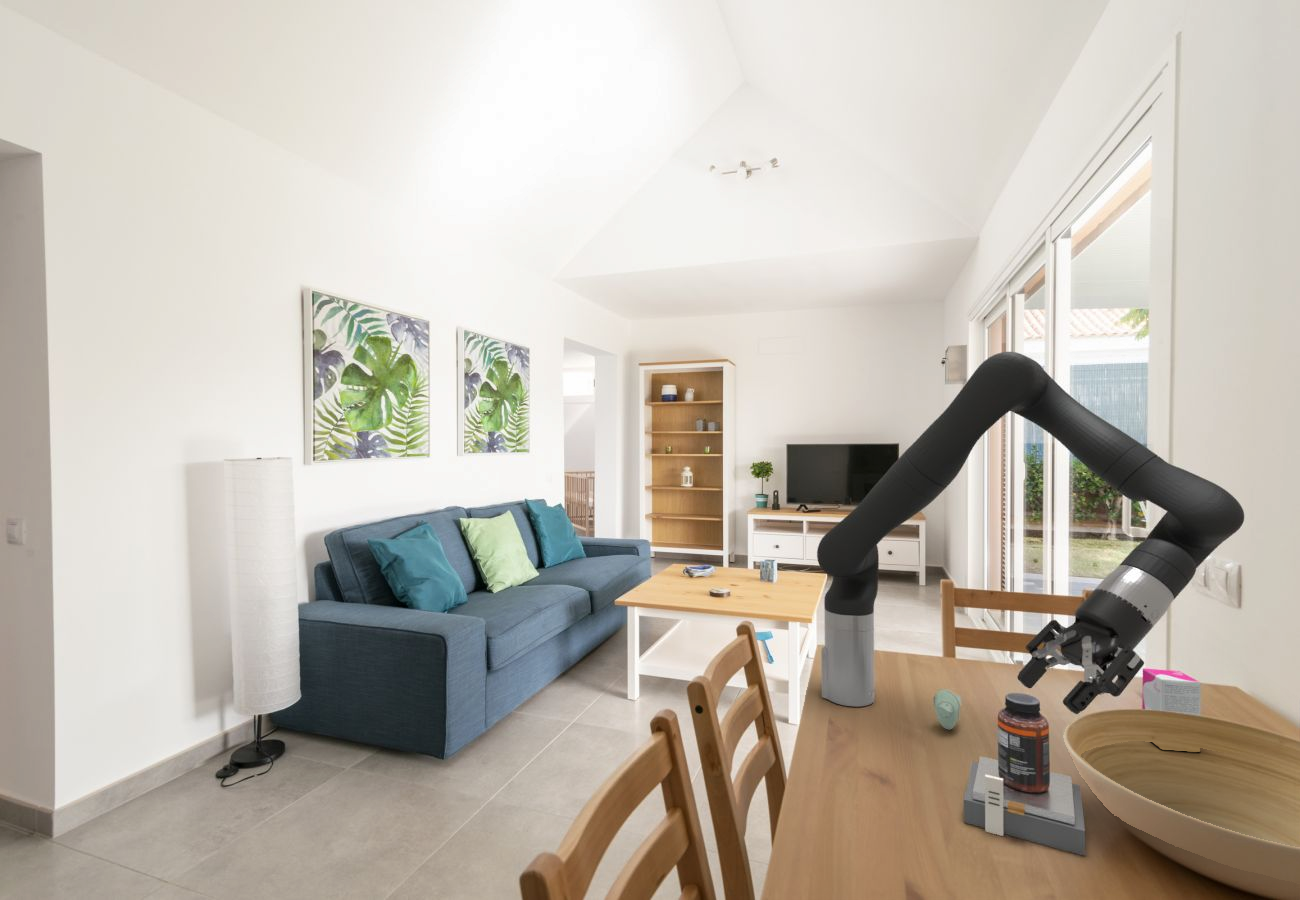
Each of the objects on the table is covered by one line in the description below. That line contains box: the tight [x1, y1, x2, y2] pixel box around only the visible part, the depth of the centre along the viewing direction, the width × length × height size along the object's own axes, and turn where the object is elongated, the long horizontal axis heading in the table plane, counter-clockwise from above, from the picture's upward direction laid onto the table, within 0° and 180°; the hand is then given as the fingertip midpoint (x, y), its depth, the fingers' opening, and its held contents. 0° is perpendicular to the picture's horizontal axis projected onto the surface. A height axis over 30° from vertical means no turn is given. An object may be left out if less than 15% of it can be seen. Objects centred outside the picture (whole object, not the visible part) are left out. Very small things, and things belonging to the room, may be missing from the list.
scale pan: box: [973, 755, 1075, 825], centre depth 83 cm, size 11×13×1 cm
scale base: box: [963, 760, 1086, 857], centre depth 84 cm, size 13×13×7 cm
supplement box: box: [1141, 667, 1202, 717], centre depth 104 cm, size 6×6×12 cm
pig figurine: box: [933, 688, 962, 730], centre depth 110 cm, size 8×4×7 cm, turn 139°
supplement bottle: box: [997, 692, 1051, 792], centre depth 84 cm, size 6×6×11 cm
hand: (1044, 695), depth 84 cm, fingers open, 8 cm apart
